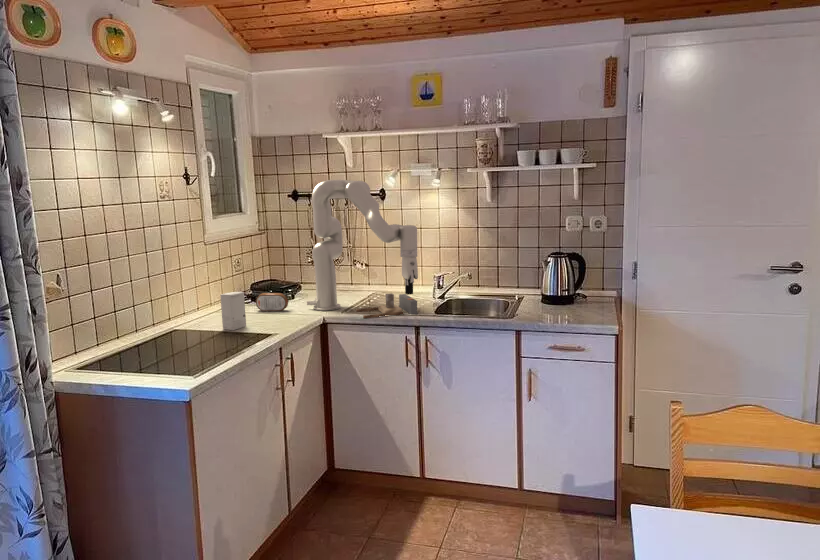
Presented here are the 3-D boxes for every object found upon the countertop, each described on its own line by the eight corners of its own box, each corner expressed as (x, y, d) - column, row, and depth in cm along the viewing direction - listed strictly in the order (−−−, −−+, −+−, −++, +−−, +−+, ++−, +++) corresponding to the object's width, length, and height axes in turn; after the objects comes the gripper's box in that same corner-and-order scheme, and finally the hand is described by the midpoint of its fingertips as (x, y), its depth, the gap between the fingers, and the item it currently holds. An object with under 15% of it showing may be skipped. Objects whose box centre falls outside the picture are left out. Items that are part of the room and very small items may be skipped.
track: (363, 318, 275) (363, 315, 275) (356, 311, 289) (356, 309, 289) (403, 314, 280) (403, 312, 280) (394, 308, 294) (394, 305, 294)
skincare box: (232, 330, 259) (230, 295, 257) (222, 329, 262) (219, 294, 260) (247, 326, 266) (244, 291, 264) (236, 325, 269) (234, 290, 267)
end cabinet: (410, 314, 279) (410, 301, 278) (399, 307, 296) (399, 294, 295) (417, 314, 280) (417, 300, 279) (405, 306, 297) (405, 293, 296)
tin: (288, 310, 297) (287, 292, 295) (287, 311, 294) (285, 293, 292) (257, 310, 298) (256, 292, 297) (255, 311, 295) (254, 294, 294)
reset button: (409, 306, 283) (408, 299, 282) (407, 305, 285) (407, 298, 284) (413, 305, 283) (413, 298, 283) (412, 305, 285) (411, 298, 285)
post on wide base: (384, 314, 280) (384, 297, 278) (378, 309, 290) (377, 292, 289) (402, 313, 282) (401, 295, 281) (395, 308, 292) (394, 291, 291)
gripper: (422, 255, 274) (422, 296, 277) (411, 251, 288) (412, 290, 292) (405, 255, 272) (406, 297, 275) (396, 251, 286) (396, 291, 289)
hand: (409, 293), depth 283 cm, fingers closed
